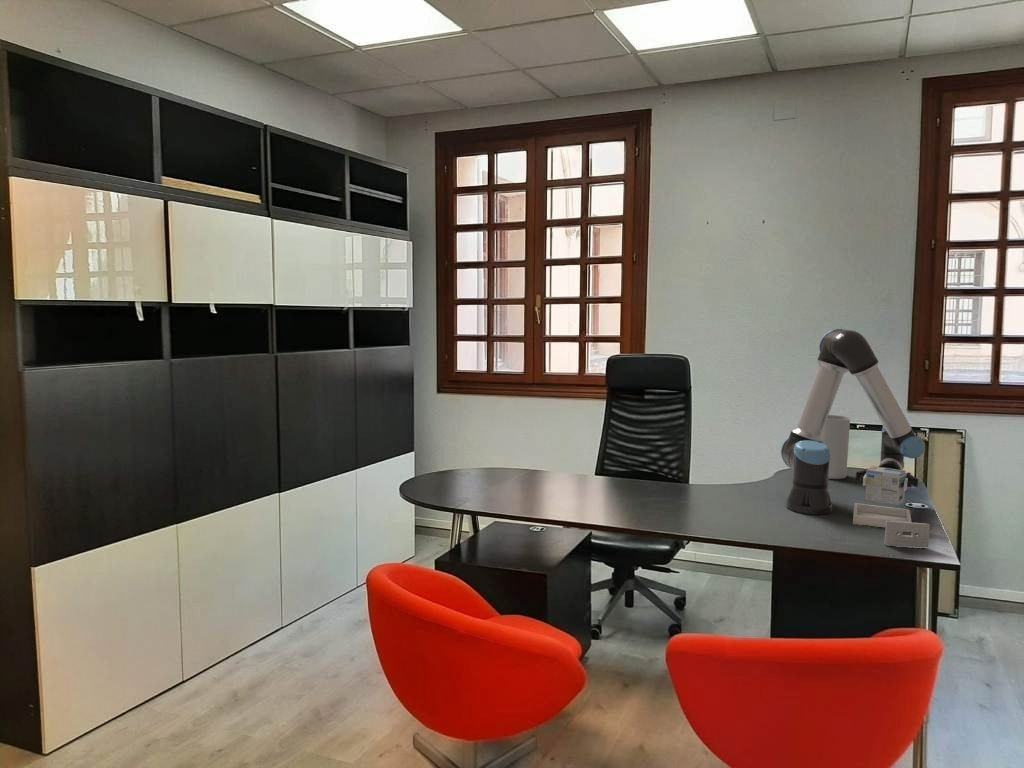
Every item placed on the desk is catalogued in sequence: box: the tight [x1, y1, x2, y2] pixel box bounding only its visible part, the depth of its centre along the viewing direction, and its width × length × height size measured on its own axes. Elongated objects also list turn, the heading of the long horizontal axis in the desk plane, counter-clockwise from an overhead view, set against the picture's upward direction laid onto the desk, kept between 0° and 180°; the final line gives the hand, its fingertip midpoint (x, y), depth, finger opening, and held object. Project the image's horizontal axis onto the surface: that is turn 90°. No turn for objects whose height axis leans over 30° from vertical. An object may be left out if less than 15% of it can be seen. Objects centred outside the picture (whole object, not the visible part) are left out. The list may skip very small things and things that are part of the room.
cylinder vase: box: [821, 414, 851, 480], centre depth 311 cm, size 12×12×25 cm
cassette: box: [883, 521, 931, 548], centre depth 223 cm, size 12×2×8 cm, turn 77°
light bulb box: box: [864, 465, 907, 506], centre depth 248 cm, size 11×7×11 cm, turn 47°
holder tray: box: [852, 502, 913, 527], centre depth 249 cm, size 17×17×3 cm
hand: (884, 484), depth 244 cm, fingers closed on light bulb box, 11 cm apart
